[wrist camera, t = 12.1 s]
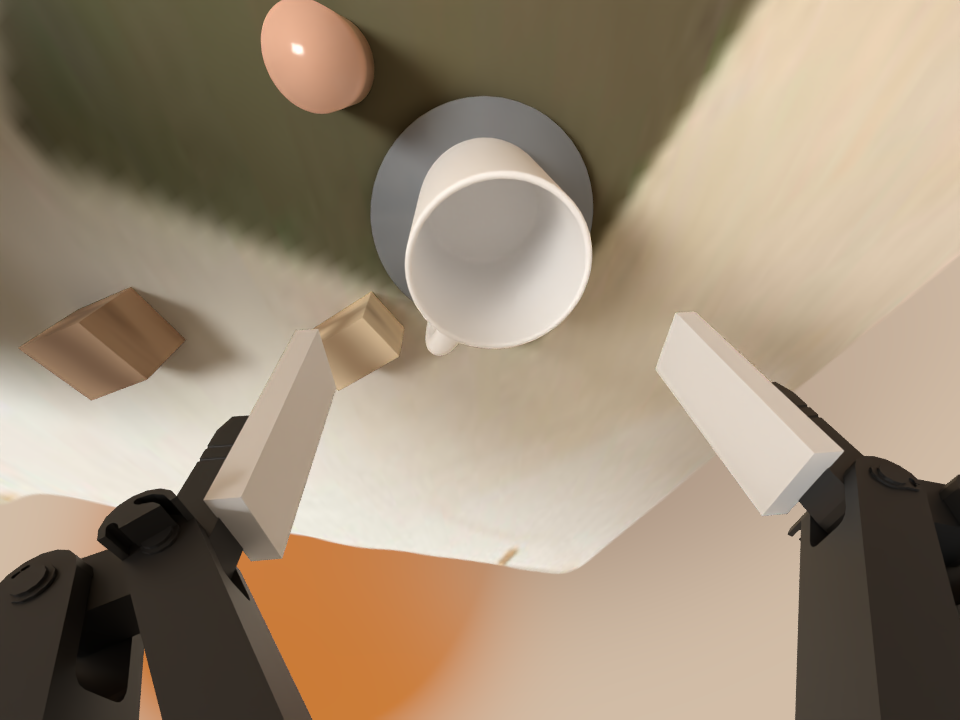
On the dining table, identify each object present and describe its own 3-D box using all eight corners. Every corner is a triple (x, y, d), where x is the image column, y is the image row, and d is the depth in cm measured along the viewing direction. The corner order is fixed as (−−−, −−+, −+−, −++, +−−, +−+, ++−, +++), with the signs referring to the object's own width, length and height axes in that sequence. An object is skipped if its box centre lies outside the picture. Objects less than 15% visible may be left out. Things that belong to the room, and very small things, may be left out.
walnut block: (136, 358, 31) (91, 400, 27) (78, 309, 28) (17, 347, 24) (186, 339, 30) (147, 379, 26) (131, 286, 27) (78, 322, 23)
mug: (480, 322, 30) (491, 416, 22) (380, 279, 27) (351, 367, 19) (570, 179, 24) (633, 234, 16) (455, 104, 21) (458, 124, 13)
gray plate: (389, 322, 31) (388, 327, 30) (351, 96, 21) (348, 96, 21) (572, 315, 31) (574, 320, 31) (609, 95, 22) (614, 95, 22)
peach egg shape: (309, 106, 22) (278, 113, 18) (288, 12, 19) (246, -4, 15) (379, 106, 22) (364, 113, 18) (367, 13, 20) (347, -3, 16)
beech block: (349, 360, 33) (338, 391, 30) (314, 327, 31) (298, 357, 27) (404, 327, 31) (399, 356, 28) (371, 290, 29) (362, 317, 26)
